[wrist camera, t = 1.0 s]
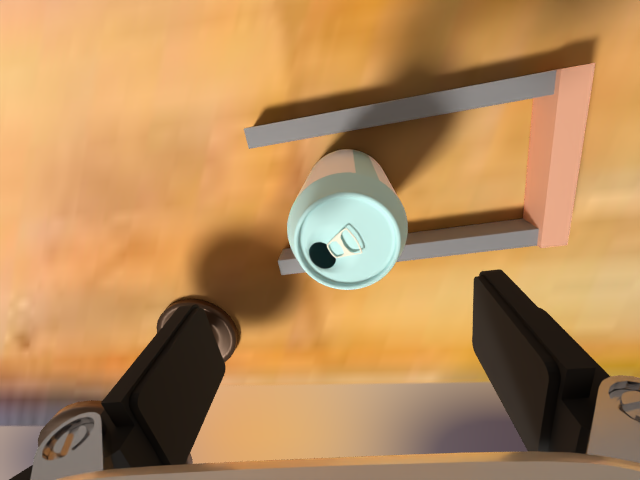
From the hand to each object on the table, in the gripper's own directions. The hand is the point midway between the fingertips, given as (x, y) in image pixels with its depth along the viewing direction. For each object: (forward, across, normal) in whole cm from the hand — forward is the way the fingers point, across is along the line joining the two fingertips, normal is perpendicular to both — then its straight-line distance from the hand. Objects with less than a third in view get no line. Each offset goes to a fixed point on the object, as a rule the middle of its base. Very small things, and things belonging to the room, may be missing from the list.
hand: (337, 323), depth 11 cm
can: (+19, -1, 0) cm, 19 cm away
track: (+18, -6, 0) cm, 19 cm away
